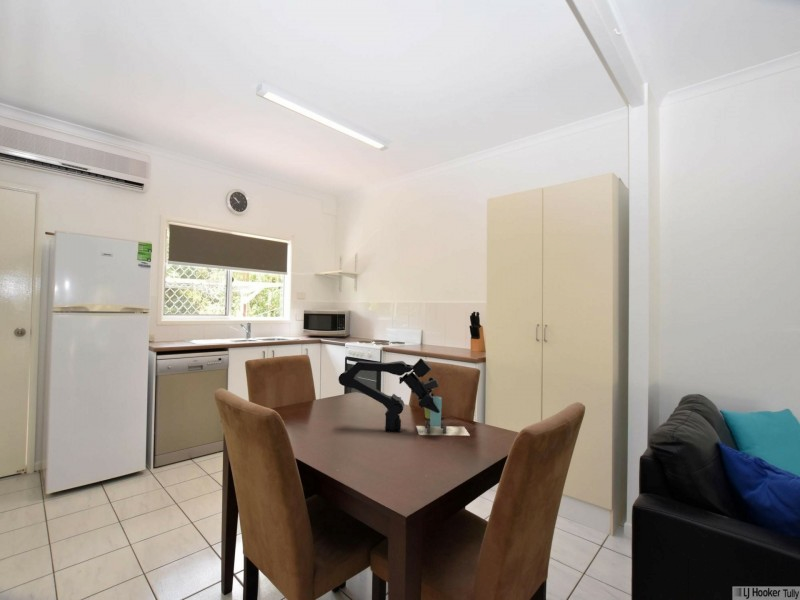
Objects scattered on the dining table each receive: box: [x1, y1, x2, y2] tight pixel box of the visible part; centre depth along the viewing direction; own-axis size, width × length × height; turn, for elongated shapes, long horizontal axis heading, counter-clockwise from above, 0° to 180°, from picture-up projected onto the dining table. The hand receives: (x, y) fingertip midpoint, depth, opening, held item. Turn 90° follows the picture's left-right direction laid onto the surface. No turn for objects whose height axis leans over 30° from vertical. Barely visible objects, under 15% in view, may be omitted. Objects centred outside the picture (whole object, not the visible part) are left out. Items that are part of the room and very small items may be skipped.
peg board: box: [415, 420, 471, 437], centre depth 166 cm, size 22×12×4 cm, turn 93°
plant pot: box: [423, 407, 430, 420], centre depth 185 cm, size 9×9×9 cm
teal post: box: [429, 395, 443, 427], centre depth 166 cm, size 4×4×12 cm
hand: (438, 411), depth 165 cm, fingers closed on teal post, 5 cm apart
